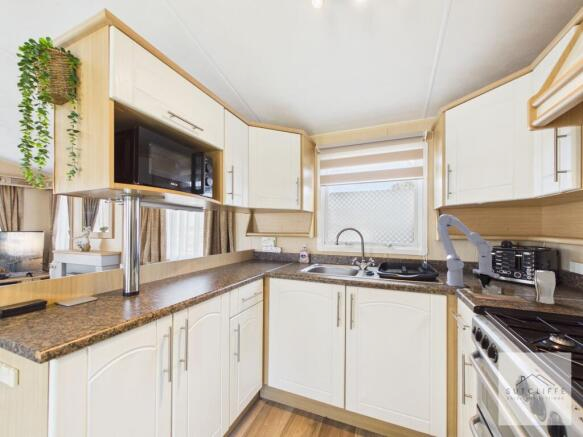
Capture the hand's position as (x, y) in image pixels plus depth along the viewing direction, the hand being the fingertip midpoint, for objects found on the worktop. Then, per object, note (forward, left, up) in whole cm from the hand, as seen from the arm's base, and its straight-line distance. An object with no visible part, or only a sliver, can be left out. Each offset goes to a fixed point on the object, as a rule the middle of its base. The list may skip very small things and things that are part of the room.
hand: (485, 288), depth 135 cm
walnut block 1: (+7, -7, -1) cm, 10 cm away
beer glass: (+15, +18, -2) cm, 24 cm away
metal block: (+7, 0, -1) cm, 7 cm away
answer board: (+9, 0, -2) cm, 9 cm away
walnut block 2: (+7, +7, -1) cm, 10 cm away
